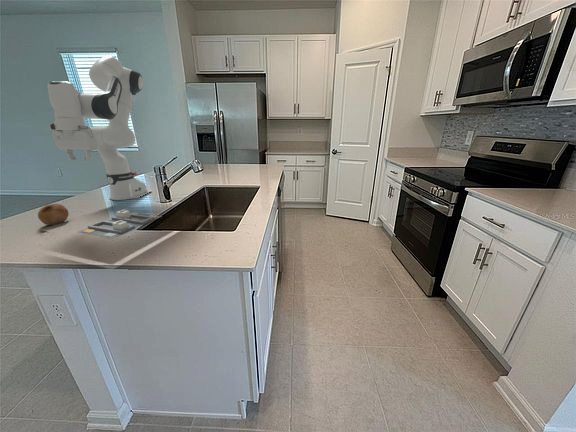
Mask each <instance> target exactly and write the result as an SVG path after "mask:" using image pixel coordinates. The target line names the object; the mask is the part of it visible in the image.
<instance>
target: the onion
mask: <svg viewBox="0 0 576 432" xmlns="http://www.w3.org/2000/svg"><path fill="white" fill-rule="evenodd" d="M68 217H69V211H68V209H67V207H66V206H64V205H62V204H60V203H49V204H47V205H44V206H42V207H41V208H40V209H39V211H38V212H37V218H38V219H39V220H40V221H41V223H43V224H44V225H48V226H55V225H59V224H62V223H64V222H66V221H67V219H68ZM40 221H39V222H40Z"/></svg>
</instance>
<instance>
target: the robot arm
mask: <svg viewBox="0 0 576 432" xmlns="http://www.w3.org/2000/svg"><path fill="white" fill-rule="evenodd" d="M88 75H89V78H90V81H91V82H92V84H93V85H94V86H95V87H96V88H97V89H99V90H100V91H103V92H102V93H82V92H81V91H79V90H78V89H76V87H75V84H74V83H73V82H71V81H66V80H62V81H61V80H60V81H59V80H58V81H57V80H54V81H49V82H48V83H47V94H48V98H49V102H50V105H51V107H52V109H53V112H54V119H55V120H54V121H53V122H51V123H50V124H49V125H48V127H49V130H50V131H52V133H51V135H52V138H53V141H54V144H55V147H57V149H59V150H64V152H65V153H66V155H67V156H68V159H69V161H77V156H76V155H74V153H73V152H74V151H75V150H77V151H84V153H85V156H84V161H85V162H88V163H89V162H92V161H93V158H92V157H93V153H94V152H93V151H96V152H98V154H99V156H100V157H101V159H102V161H103V165H104V168H105V172H106V174H105V175H106V179H107V182H108V184H109V186H108V187H109V200H114V201H121V200H122V201H125V200H132V199H133V200H135V199H139V198H141V197H143V195H144V196H145V194H146V195H148V194H150V193H149V192H151V191H152V189H150V188H147V185H146V183H145V182H144V181H143V180H142V181H141V180H140V179H138V178H136V177H135V176H137V175H138V172H137V171H131V170H130V165H129V160H128V158H127V156H125V155H123V154H122V153H121V152H120V151H119V150H118V149H124V148H129V147H133V146H134V144H135V142H136V136H135V133H134V132H133V131H132V129H130V127H129V120H130V115H131V111H132V107H133V96H136V95H137V94H138V93H139V92H141V91H142V89H143V88H144V87H143V86H144V81H143V77H142V74H141V73H140V72H139V71H137V70H134V69H130V68H127V67H124V66H123V64H122V63H121V62H120V60H119V59H117V58H115V57H114V56H111V55H105V56H102V57H100V58H99V59H98V60H96V61H95V62H94V63H93V64H92V65H91V67H90V69H89V72H88ZM85 119H97V120H98V119H102V120H107V121H108V122H109V124H108V125H104V126H103V125H101V126H100V125H97V126H96V125H94V126H92V127H89V126H87V124H86V122H85ZM73 150H74V151H73ZM147 193H148V194H147ZM151 193H152V192H151ZM140 196H141V197H140Z"/></svg>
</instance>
